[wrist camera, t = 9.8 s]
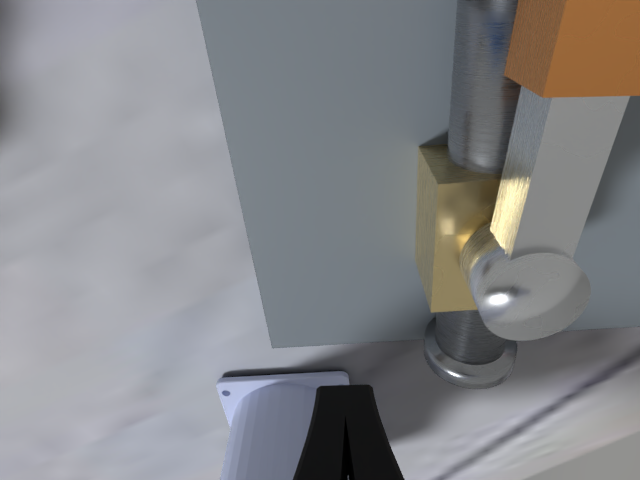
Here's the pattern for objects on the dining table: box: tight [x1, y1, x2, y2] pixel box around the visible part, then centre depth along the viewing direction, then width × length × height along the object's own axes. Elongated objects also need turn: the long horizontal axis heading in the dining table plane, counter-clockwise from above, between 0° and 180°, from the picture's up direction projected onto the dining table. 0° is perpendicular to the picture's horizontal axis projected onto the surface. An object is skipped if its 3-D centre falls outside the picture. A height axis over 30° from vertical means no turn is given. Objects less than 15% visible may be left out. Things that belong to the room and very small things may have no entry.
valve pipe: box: [415, 0, 522, 389], centre depth 17 cm, size 18×5×4 cm, turn 5°
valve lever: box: [459, 0, 640, 341], centre depth 12 cm, size 12×3×2 cm, turn 1°
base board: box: [196, 0, 640, 348], centre depth 18 cm, size 18×20×1 cm
